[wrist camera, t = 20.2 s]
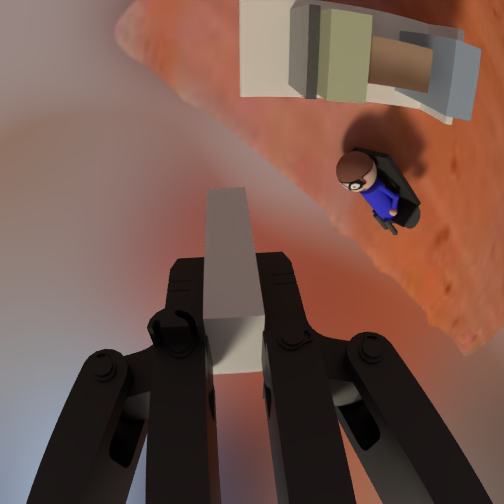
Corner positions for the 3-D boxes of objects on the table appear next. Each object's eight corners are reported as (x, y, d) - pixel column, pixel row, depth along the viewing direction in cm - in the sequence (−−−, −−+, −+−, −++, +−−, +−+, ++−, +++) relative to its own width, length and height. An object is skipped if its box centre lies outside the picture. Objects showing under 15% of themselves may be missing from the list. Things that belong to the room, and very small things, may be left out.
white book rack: (239, -3, 26) (243, -12, 21) (428, 25, 28) (464, 30, 22) (239, 94, 34) (244, 108, 28) (419, 106, 36) (451, 124, 30)
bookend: (290, 9, 27) (309, 4, 20) (299, 10, 27) (320, 5, 20) (288, 84, 32) (305, 98, 26) (297, 84, 32) (316, 99, 26)
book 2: (329, 31, 28) (366, 34, 21) (385, 40, 29) (433, 49, 21) (327, 68, 31) (362, 82, 23) (382, 74, 32) (427, 93, 24)
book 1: (299, 14, 27) (331, 8, 19) (330, 17, 27) (372, 15, 19) (297, 80, 32) (326, 100, 24) (327, 82, 32) (365, 103, 24)
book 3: (400, 30, 28) (456, 39, 19) (423, 36, 28) (481, 49, 20) (394, 90, 33) (445, 116, 24) (417, 93, 33) (470, 121, 25)
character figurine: (376, 222, 48) (322, 155, 40) (413, 196, 45) (364, 123, 37) (393, 255, 42) (336, 185, 35) (435, 227, 39) (387, 148, 31)
